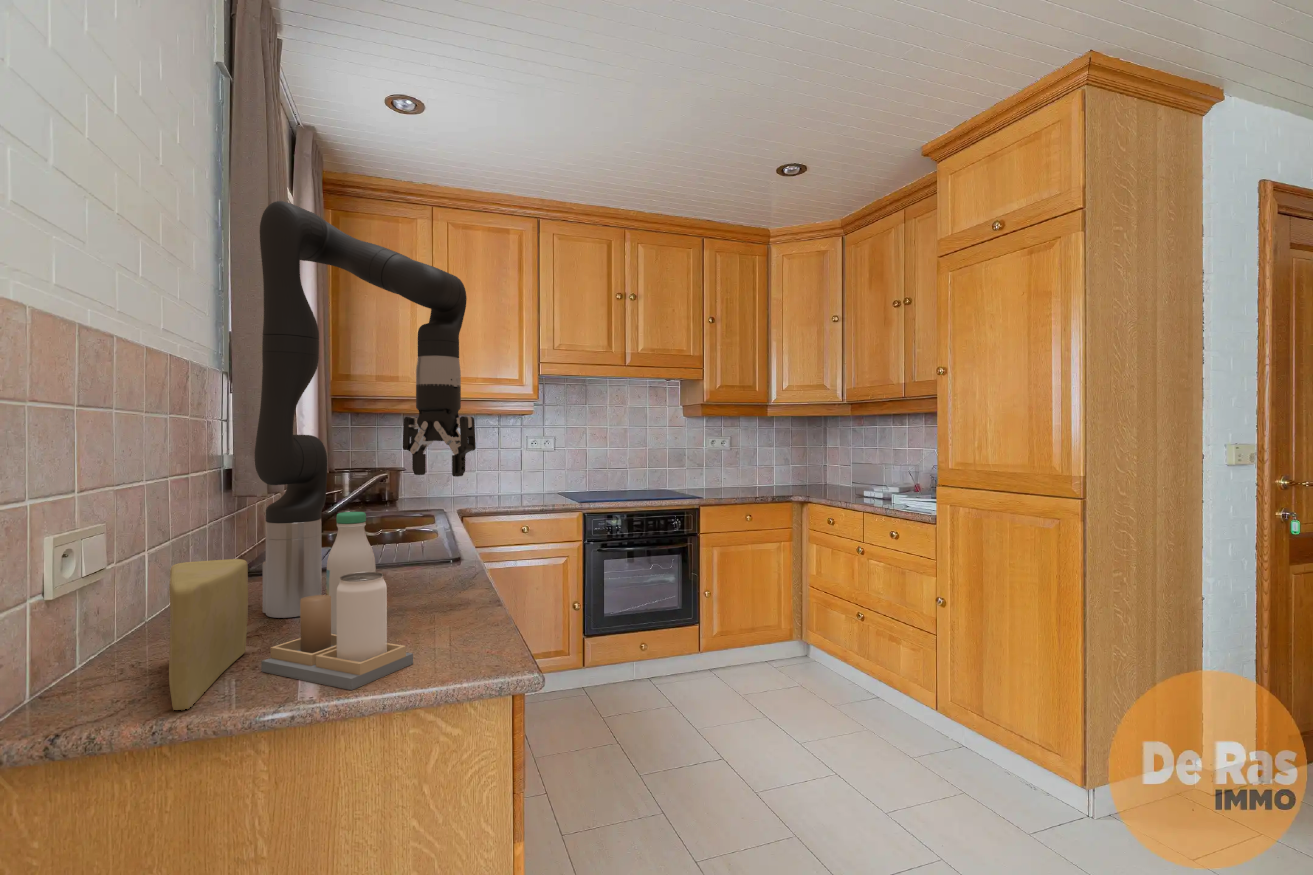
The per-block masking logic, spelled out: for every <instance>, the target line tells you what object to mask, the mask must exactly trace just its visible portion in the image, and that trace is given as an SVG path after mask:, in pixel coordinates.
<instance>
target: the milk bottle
mask: <svg viewBox="0 0 1313 875" xmlns="http://www.w3.org/2000/svg"><path fill="white" fill-rule="evenodd" d="M366 521H367V514H366V512H364V511H346V512H345V511H343V512H339V513H337V514H336V527H337V535H336V537H335V540H334V542H333V545H332V546H331V549H330V551H329V555H328V558H327V562H326V576H325V577H326V578H325V579H326V582H325V586H326V588H325V593H326V594H325V595H329V596H331V634H336V635H337V587H338V585H339V583H340V581H341V579H340V577H341V576H343V575H346V574H351V573H358V572H377V571H376V558H375V554H374V550H373V548H372V546H371V544H370V542H369V540H368V537H367V534H366V529H365V526H366V525H367V522H366Z"/></svg>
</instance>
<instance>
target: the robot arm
mask: <svg viewBox="0 0 1313 875" xmlns="http://www.w3.org/2000/svg"><path fill="white" fill-rule="evenodd" d="M261 215H262V216H261V218H260V222H259V245H260V257H261V266H262V267H261V268H262V281H263V283H262V284H263V286H262V287H263V323H262V324H263V325H262V343H261V344H262V345H261V346H262V349H261V356H262V357H261V358H262V369H261V370H262V371H261V372H262V375H261V394H260V396H261V397H260V408H259V414H258V422H257V431H256V438H255V445H254V466H255V470H256V474H257V475H258V478H259V479H260V480H261V481H262V482H263V483H265V484H267V485H268V486H282V485H287V486H286V490H285V492H284V494H282V496H281V497H280V498H278V499H277V500H276V501H274V502H273V503H272V502H271V503H270V504H269V505H268V506H267V507H266V509H265V561H263V562H262V614H265V615H266V617H269V618H275V619H276V618H278V619H280V618H283V619H286V618H297V617H300V599H302V598H304V597H308V596H314V595H323V594H322V593H323V592H322V585H323V584H322V583H323V580H322V579H323V578H322V572H323V571H322V565H323V564H322V559H323V558H322V511H323V508H324V506H325V504H326V498H327V483H328V455H327V454H328V453H327V451H326V447H325V445H324V443H323V442H322V441H321V439H320V438H319V437H317V436H315V435H311V434H294V424H295V423H294V422H295V415H296V414H295V413H296V410H297V405H298V403H299V401H300V399H301V398H302V395H303V394H304V393H305V391H306V389H307V388H308V386H309V384H310V383H311V381H312V380H313V378H314V376H315V374H316V372H317V369H318V366H319V362H320V361H319V358H320V330H319V325H318V323H317V319H316V317H315V314H314V312H313V310H312V307H311V305H310V303H309V301H308V298H307V297H306V294H305V291H304V287H303V285H302V280H301V270H300V268H301V265H300V264H301V261H303V262H312V263H316V264H317V263H318V264H322V265H327V266H333V267H336V268H339V269H342V270H345V271H347V272H349V273H350V274H352V275H354V276H355V277H357V278H358V279H361V280H362V281H364V282H366V283H368V284H371V285H373V286H374V287H377V288H380V289H382V290H385V291H387V292H391V293H392V294H396V295H399V296H400V297H403V298H405V299H407V300H408V301H410V302H412V303H415V304H416V305H419V306H421V307H424V308H427V309H429V310H430V316H429V321H428V323H424V324H421V326H419V328H418V330H417V331H418V332H417V337H416V338H417V339H416V340H417V360H416V361H417V362H416V368H415V407H416V410H417V411H418V417H417V416H405V417H404V418H403V432H402V449H403V450H404V451H408V452H410V453H411V455H412V459H411V460H412V461H411V462H412V472H413V475H415V476H424V475H426V473H427V472H426V471H427V470H426V467H427V466H426V459H427V458H426V456H427V455H426V454H425V453H426V451H427V449H428V448H429V446H431V445H432V444H433V442H444V443H445V445H447V446H448V447H449V448H450V450H451V452H452V454H453V455H451V469H452V470H451V475H452V477H455V478H456V477H457V478H458V477H463V476H464V474H465V472H466V455H467V453H469V452H470V453H471V452H473V451H475V450H476V448H477V446H476V430H475V429H476V428H475V427H476V426H475V417H474V416H470V415H464V416H461V417H460V415H459V411H460V410H461V409H462V408H461V407H462V405H461V404H462V400H461V399H462V393H461V392H462V390H461V389H462V388H461V387H462V385H461V383H462V376H461V372H462V371H461V364H460V334H461V333H460V332H461V329H462V326H463V321H464V317H465V312H466V307H467V301H468V300H467V299H468V298H467V291H466V288H465V285H464V283H463V281H462V280H461V279H460V278H459V277H458V276H456V275H454V274H452V273H449V272H447V271H445V270H443V269H440V268H438V267H435V266H433V265H430V264H427V263H424V262H421V261H419V260H414V259H412V258H410V257H408V256H407V255H405V254H402V253H400V252H397V251H394V250H392V249H389V248H387V247H384V246H381V245H379V244H376V243H372V242H367V241H364V240H361V239H358V238H355V237H353V236H351V235H349V234H347V233H345V232H343V231H342V230H340V229H339V228H337V227H336V226H334V225H333V224H331V223H329V222H328V221H327V220H325V219H324V218H323V217H320V216H319V215H318V214H316V213H315V212H312V211H309V210H307V209H304V208H302V207H301V206H298V205H297V204H293V203H290V202H288V201H283V200H276V201H273V202H271V203H270V204H268V206H266V208H265V209H264V210H263V212H262V214H261ZM458 428H459V430H458Z"/></svg>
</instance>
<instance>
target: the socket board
mask: <svg viewBox="0 0 1313 875" xmlns="http://www.w3.org/2000/svg"><path fill="white" fill-rule="evenodd" d="M299 617H300V619H299V620H300V626H299V627H300V628H299V629H300V632H299V633H300V636H299V638H297V639H294V640H290V641H287V642H286V641H285V642H284V643H281V644H277V645H274V646H271V647H270V657H269V658H267V659H262V660H261V661H260V662H261V665H260V666H261V669H260V670H261V672H262V673H266V674H267V673H268V674H271V675H276V676H281V677H285V678H290V679H296V680H300V681H304V682H310V683H314V684H320V685H324V686H329V687H333V688H339V689H343V690H349V691H353V690H356V689H358V688H360V687H362V686H365V685H367V684H369V683H372V682H374V681H376V680H379V679H381V678H383V677H386V676H388V675H390V674H392V673H396V672H397V671H400V670H402V669H404V668H406V667H409V666H411V665H413V664H414V653H413V652H407V646H406V645H402V644H395V643H389V642H387V652H385V653H383V654H380V655H378V656H375V657H373V658H370V659H368V660H365V661H362V662H356V661H351V660H345V659H340V658H337V635H336V634H331V596H329V595H326V594H322V595H314V596H308V597H304V598H302V599H300V616H299Z"/></svg>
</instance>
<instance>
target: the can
mask: <svg viewBox="0 0 1313 875" xmlns="http://www.w3.org/2000/svg"><path fill="white" fill-rule="evenodd" d="M340 579H341V581H340V583H339V585H338V587H337V658H340V659H345V660H351V661H356V662H362V661H365V660H368V659H370V658H373V657H375V656H378V655H380V654H383V653H385V652H387V643H388V616H387V615H388V614H387V613H388V610H387V609H388V607H387V606H388V605H387V603H388V601H387V600H388V598H387V597H388V595H387V594H388V592H387V590H388V589H387V583H386V581H385V579H384V573H383V572H378V571H376V572H358V573H351V574H346V575H343V576H341V577H340Z"/></svg>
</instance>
